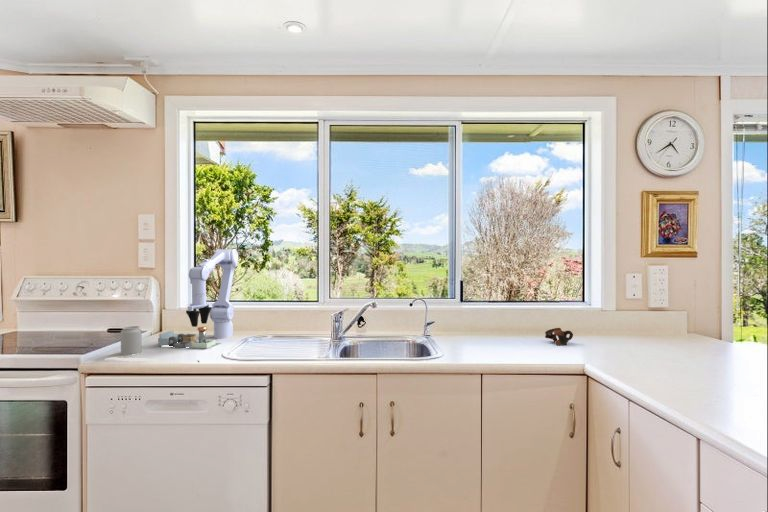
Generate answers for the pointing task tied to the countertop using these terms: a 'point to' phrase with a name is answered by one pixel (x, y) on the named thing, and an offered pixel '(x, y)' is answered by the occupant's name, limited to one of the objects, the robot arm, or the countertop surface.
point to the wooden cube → (189, 338)
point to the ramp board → (186, 345)
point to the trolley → (169, 338)
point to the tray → (204, 344)
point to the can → (131, 340)
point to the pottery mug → (559, 336)
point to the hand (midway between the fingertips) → (199, 325)
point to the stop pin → (202, 334)
